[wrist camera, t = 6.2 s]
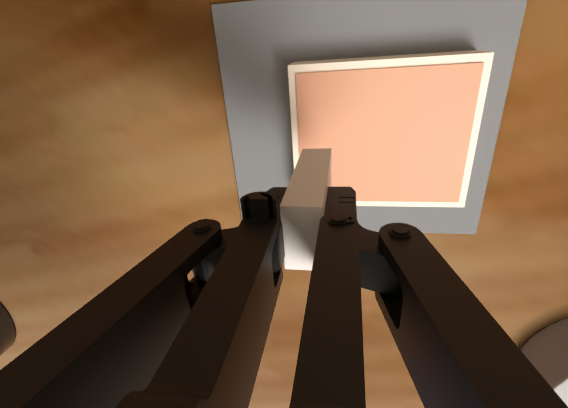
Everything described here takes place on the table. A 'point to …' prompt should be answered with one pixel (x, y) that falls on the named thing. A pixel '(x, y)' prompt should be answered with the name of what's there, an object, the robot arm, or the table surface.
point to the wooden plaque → (393, 123)
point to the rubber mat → (353, 44)
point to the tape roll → (551, 356)
